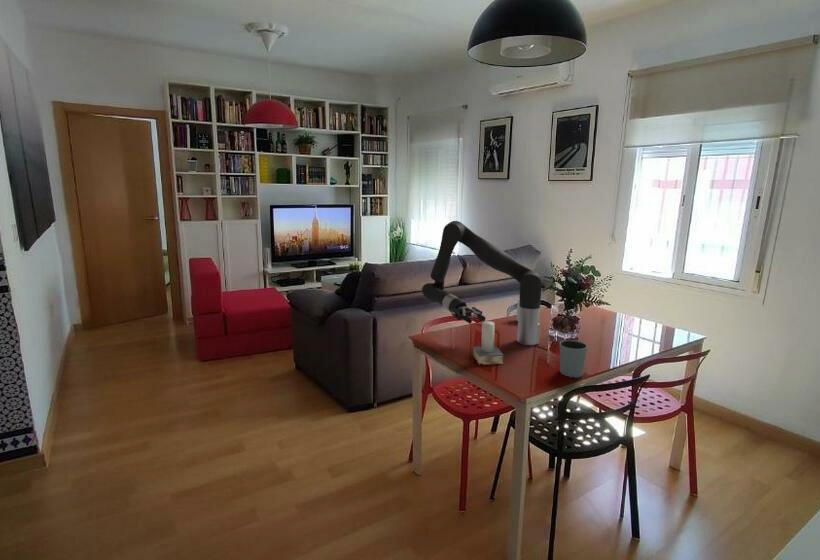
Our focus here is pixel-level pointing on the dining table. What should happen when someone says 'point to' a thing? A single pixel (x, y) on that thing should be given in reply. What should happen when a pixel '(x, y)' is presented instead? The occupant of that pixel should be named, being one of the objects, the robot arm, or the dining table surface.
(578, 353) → the plant pot
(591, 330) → the dining table surface
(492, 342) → the pale grey rectangular block
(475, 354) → the plinth
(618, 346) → the dining table surface
